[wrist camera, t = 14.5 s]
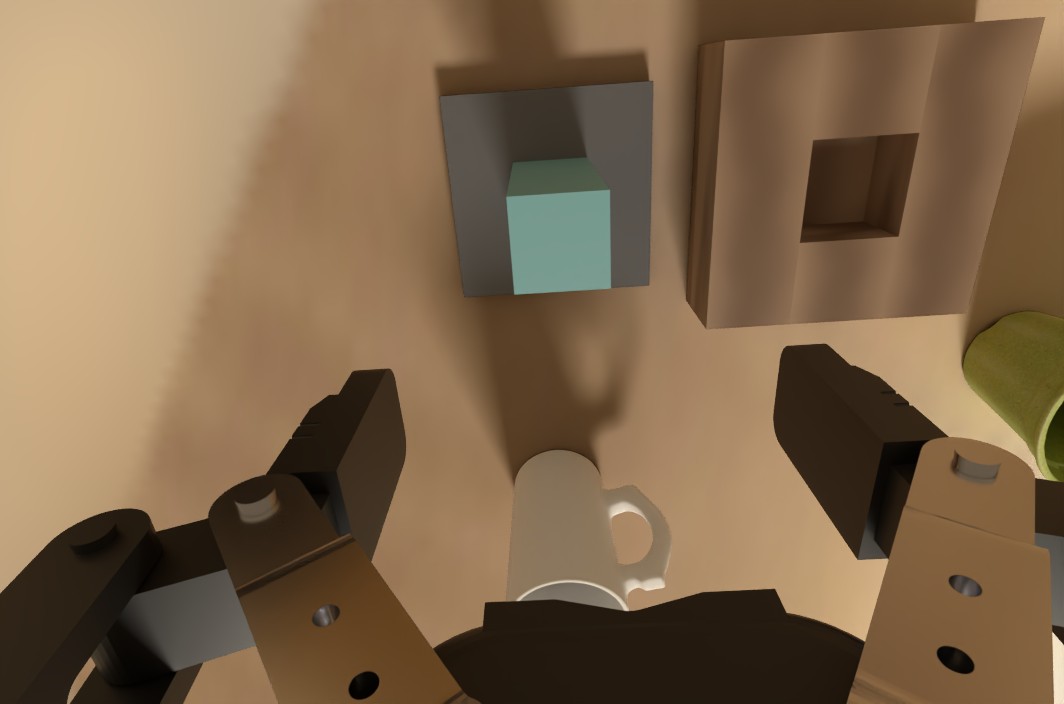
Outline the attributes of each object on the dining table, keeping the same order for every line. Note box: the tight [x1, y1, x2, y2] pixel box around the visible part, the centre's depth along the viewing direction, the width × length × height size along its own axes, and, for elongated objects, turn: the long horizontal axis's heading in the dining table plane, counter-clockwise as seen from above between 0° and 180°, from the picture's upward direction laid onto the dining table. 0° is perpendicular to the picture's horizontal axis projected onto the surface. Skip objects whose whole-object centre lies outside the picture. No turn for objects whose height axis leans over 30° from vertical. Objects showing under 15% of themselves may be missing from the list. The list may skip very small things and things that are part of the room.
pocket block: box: [686, 17, 1045, 329], centre depth 31 cm, size 14×14×4 cm
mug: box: [506, 450, 672, 611], centre depth 36 cm, size 10×7×12 cm, turn 110°
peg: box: [506, 157, 611, 295], centre depth 28 cm, size 4×4×10 cm
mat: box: [440, 81, 653, 297], centre depth 33 cm, size 11×11×1 cm
